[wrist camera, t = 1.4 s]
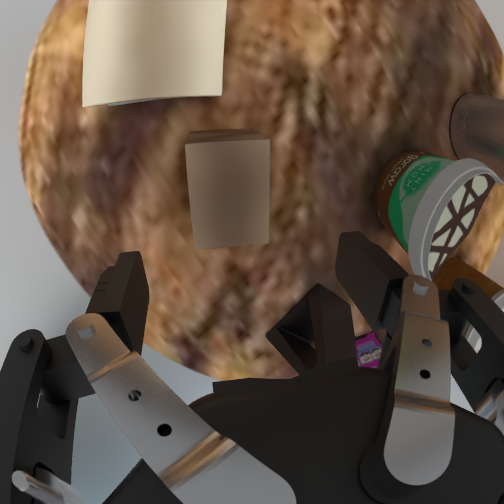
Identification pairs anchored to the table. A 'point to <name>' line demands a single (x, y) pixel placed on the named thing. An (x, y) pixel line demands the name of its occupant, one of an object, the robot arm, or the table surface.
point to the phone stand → (315, 331)
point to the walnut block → (228, 187)
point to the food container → (430, 204)
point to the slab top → (153, 50)
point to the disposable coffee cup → (462, 270)
